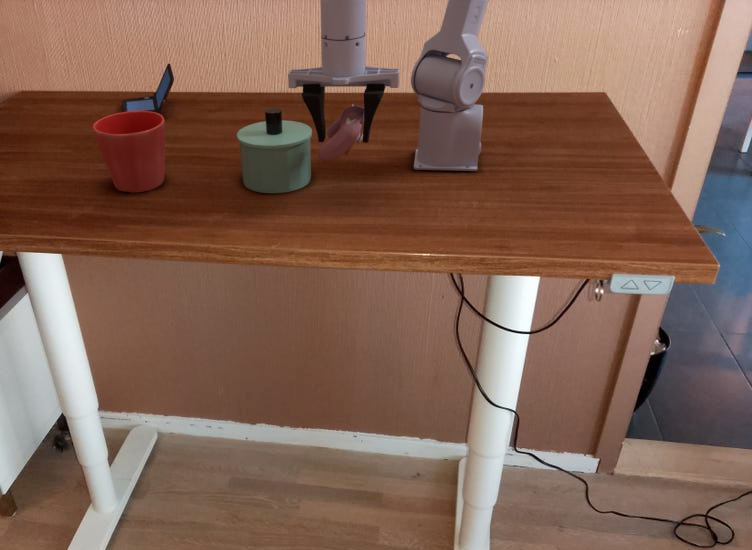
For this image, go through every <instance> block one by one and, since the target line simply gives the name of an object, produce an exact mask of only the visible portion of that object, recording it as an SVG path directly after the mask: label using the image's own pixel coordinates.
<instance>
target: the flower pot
mask: <svg viewBox="0 0 752 550" xmlns="http://www.w3.org/2000/svg"><path fill="white" fill-rule="evenodd" d="M161 114H162V113H161ZM161 114H159V113H156V112H151V111H128V112H123V111H122V112H117V113H112V114H110V115H107V116H104V117H102V118H99V119H98V120H96V121H95V122H94V123H93V125H92V131H93V134H94V137H95V139H96V143H97V144H98V147H99V150H100V152H101V155H102V158H103V161H104V163H105V166H106V168H107V171H108V173H109V175H110V178H111V180H112V183H113V185H114V187H115V188H116V189H117V190H118V191H119V192H120V191H121V192H124V193H126V192H128V193H143V192H144V193H145V192H148V191H152V190H154V189H156V188H158V187H160V186H161V185H162V184H163V183H164V181H165V165H166V164H165V163H166V161H165V160H166V159H165V158H166V121H165V120H166V119H165V117H164V116H163V115H161Z"/></svg>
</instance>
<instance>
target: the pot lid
mask: <svg viewBox="0 0 752 550" xmlns="http://www.w3.org/2000/svg"><path fill="white" fill-rule="evenodd" d="M264 117H265V118H264V119H265V121H258V122H255V123H251V124H248V125H245V126H244V127H242V128H240V129H239V130H238V131H237V133H236V139H237V142H238V143H239V144H240V143H241V144H243V145H245V146H249V147H253V148H260V149H277V148H286V147H291V146H295V145H299V144H301V143H304V142H306V141H307V140H309V139H310V140H311V138H312V136H313V129H312V128H311V126H310V125H308V124H306V123H303V122H300V121H294V120H284V119H283V115H282V109H281V108H277V107H273V108H267V109H265V110H264Z"/></svg>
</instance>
